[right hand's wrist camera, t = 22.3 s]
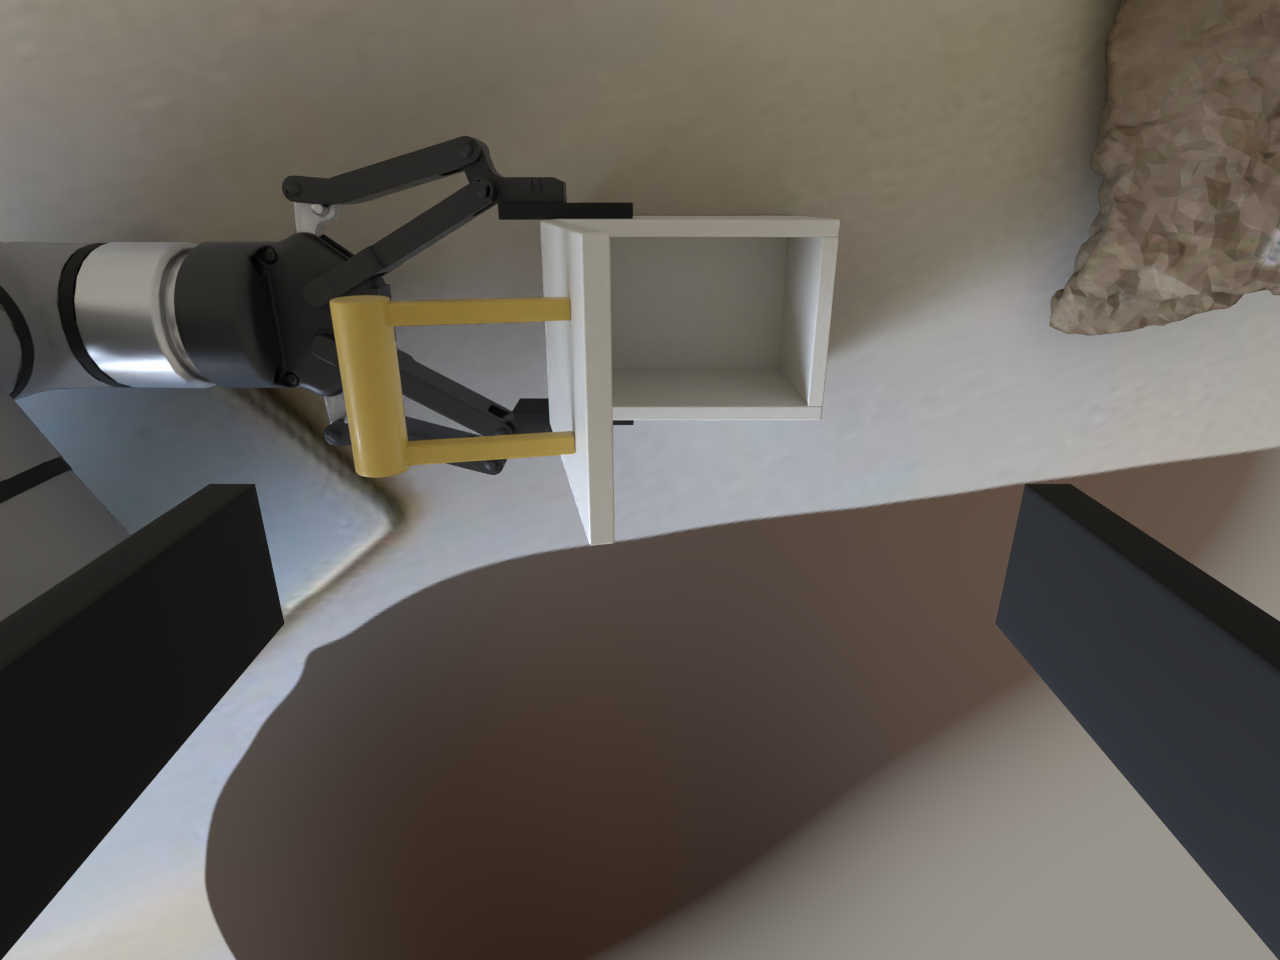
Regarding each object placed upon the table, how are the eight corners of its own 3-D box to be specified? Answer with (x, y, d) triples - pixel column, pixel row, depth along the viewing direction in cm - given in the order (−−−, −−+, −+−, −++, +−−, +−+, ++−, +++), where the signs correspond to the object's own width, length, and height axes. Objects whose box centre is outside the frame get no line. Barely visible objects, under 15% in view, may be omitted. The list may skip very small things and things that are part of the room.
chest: (799, 215, 42) (840, 219, 33) (787, 378, 45) (821, 420, 37) (569, 215, 42) (550, 219, 33) (574, 378, 45) (558, 420, 37)
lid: (610, 232, 20) (292, 235, 18) (614, 543, 24) (349, 569, 22) (558, 219, 33) (368, 220, 31) (566, 422, 36) (396, 433, 35)
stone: (1314, 343, 41) (1397, 345, 35) (1034, 334, 44) (1067, 334, 39) (1409, -72, 37) (1520, -147, 31) (1090, -50, 40) (1138, -114, 34)
